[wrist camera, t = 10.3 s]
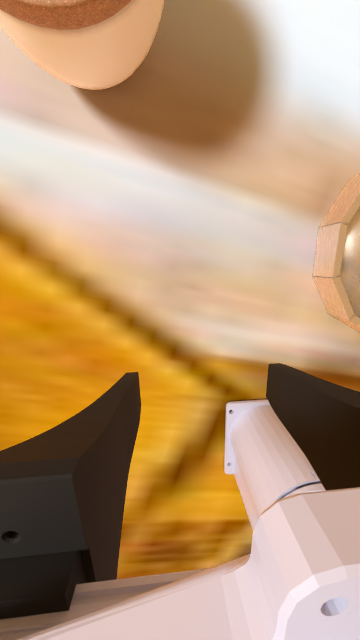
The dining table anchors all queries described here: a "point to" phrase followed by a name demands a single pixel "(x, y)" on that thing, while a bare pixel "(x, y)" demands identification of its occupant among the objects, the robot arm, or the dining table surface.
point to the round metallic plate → (340, 256)
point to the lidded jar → (83, 37)
